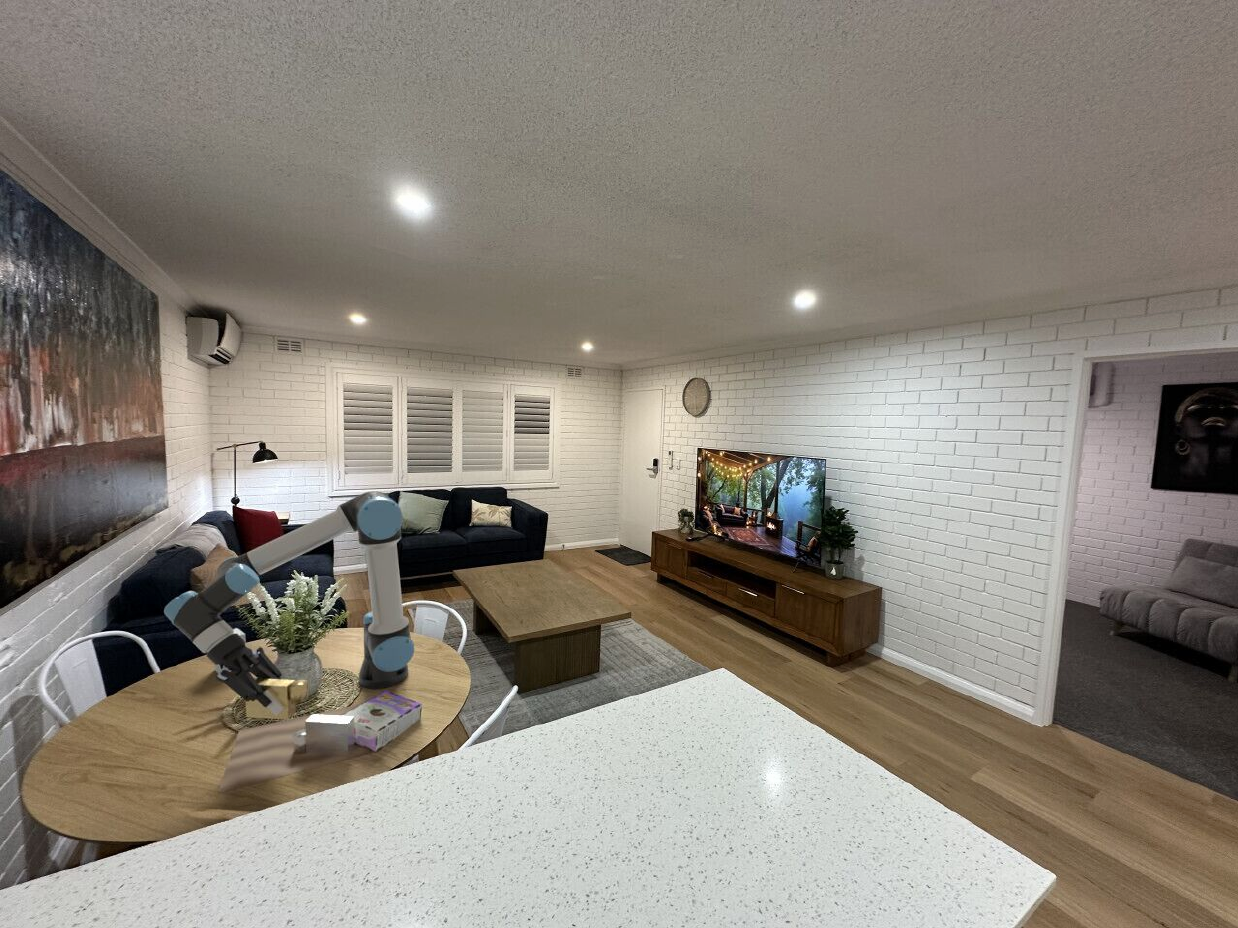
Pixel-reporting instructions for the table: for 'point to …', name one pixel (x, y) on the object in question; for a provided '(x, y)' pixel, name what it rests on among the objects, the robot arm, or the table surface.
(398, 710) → the candy box
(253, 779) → the walnut board
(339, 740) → the fixed hinge leaf
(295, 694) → the loose hinge leaf
